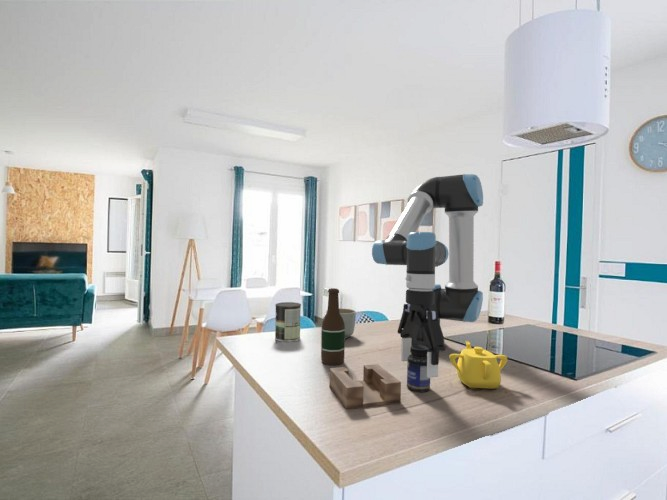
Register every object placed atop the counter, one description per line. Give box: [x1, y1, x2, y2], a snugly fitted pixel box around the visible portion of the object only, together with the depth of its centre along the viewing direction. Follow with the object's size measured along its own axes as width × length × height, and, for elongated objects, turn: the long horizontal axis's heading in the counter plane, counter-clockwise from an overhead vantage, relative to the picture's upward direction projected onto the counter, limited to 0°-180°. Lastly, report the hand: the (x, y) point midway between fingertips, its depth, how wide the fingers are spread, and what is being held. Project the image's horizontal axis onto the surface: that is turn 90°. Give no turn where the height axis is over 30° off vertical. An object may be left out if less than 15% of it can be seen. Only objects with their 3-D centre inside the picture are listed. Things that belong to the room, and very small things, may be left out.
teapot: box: [449, 340, 508, 390], centre depth 103 cm, size 14×13×10 cm
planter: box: [325, 307, 357, 339], centre depth 153 cm, size 12×12×11 cm
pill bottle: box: [406, 345, 431, 393], centre depth 99 cm, size 6×6×11 cm
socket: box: [329, 363, 402, 410], centre depth 94 cm, size 14×14×5 cm
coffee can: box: [274, 301, 302, 343], centre depth 148 cm, size 10×10×14 cm
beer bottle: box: [320, 288, 346, 366], centre depth 120 cm, size 8×8×24 cm
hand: (418, 368), depth 98 cm, fingers open, 13 cm apart
